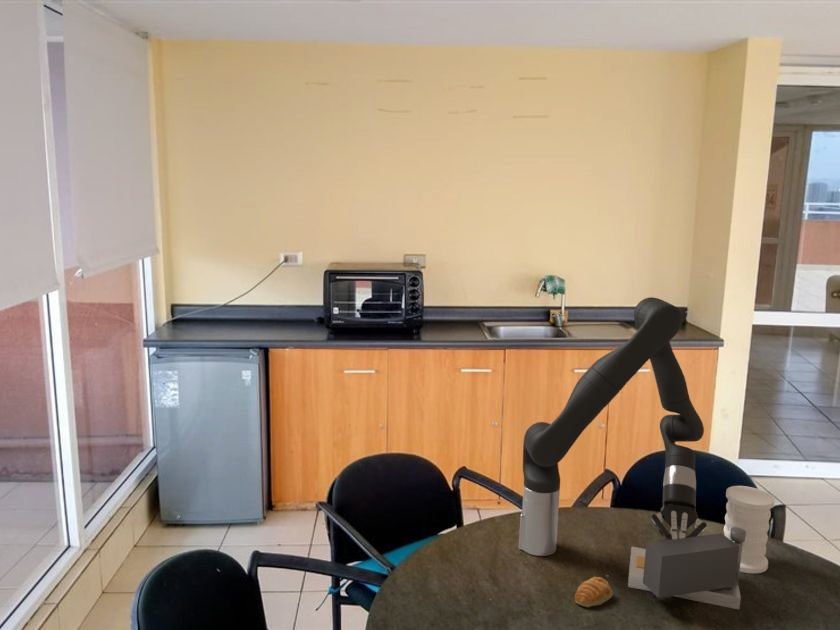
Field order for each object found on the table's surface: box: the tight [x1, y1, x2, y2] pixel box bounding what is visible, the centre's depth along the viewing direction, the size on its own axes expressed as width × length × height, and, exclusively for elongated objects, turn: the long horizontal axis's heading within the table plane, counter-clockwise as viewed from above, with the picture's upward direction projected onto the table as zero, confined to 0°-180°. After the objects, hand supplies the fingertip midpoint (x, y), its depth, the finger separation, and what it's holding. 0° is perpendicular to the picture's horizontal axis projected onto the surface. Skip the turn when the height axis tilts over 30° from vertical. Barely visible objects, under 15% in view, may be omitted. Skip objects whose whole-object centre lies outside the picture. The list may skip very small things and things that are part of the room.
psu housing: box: [627, 540, 743, 610], centre depth 158 cm, size 24×14×13 cm, turn 70°
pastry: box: [574, 576, 614, 608], centre depth 152 cm, size 9×7×4 cm
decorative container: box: [723, 485, 775, 574], centre depth 168 cm, size 12×12×18 cm
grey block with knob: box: [643, 527, 746, 599], centre depth 151 cm, size 24×6×12 cm, turn 105°
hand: (677, 558), depth 155 cm, fingers closed
